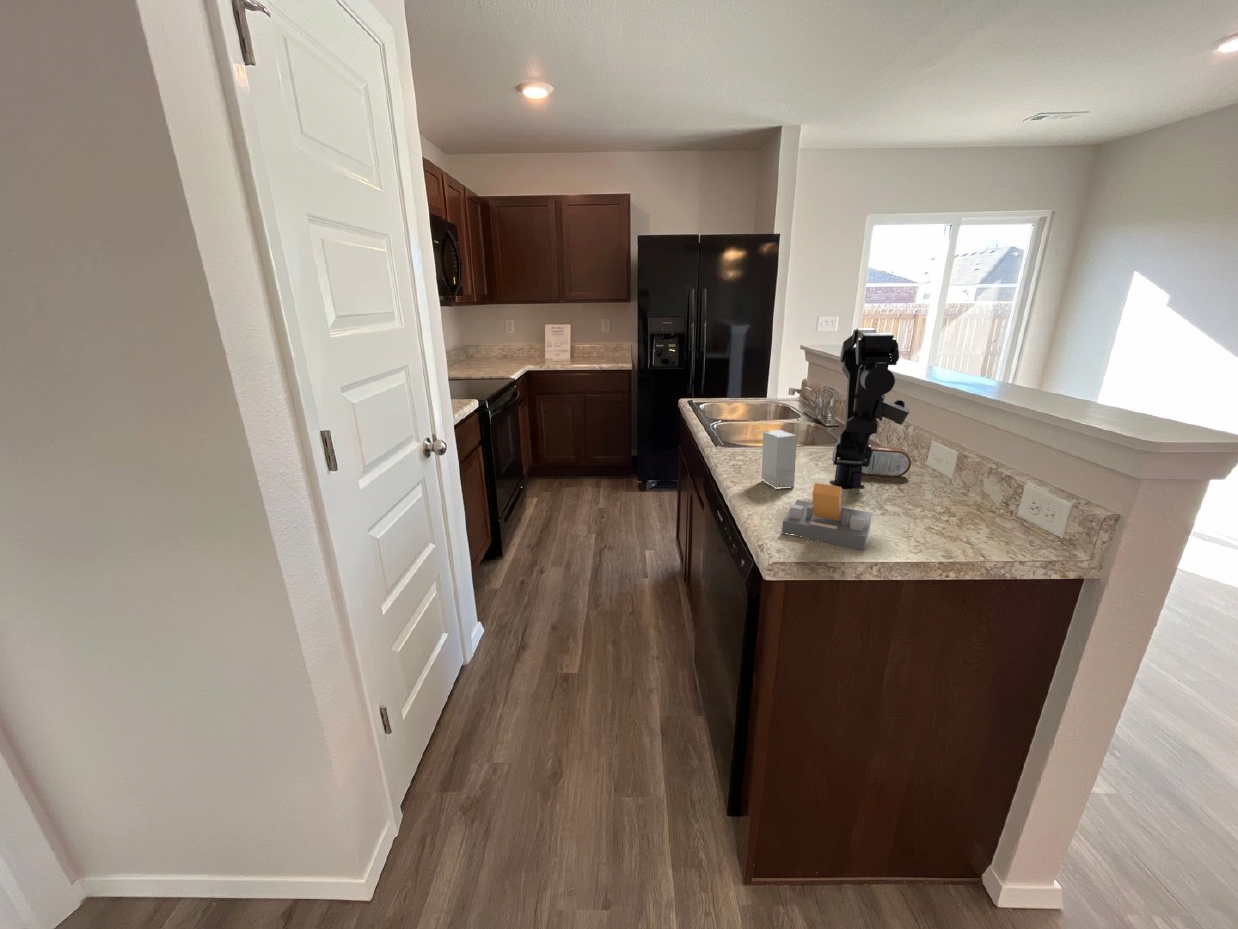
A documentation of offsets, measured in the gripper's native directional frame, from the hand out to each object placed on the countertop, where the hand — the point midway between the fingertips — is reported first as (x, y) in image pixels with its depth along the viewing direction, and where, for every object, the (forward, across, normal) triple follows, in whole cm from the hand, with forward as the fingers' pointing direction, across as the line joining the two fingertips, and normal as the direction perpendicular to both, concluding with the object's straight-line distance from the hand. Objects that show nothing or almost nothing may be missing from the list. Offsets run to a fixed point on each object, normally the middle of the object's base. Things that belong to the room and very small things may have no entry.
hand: (860, 454), depth 115 cm
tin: (+13, +29, -3) cm, 32 cm away
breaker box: (+13, -18, +3) cm, 23 cm away
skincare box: (+13, +6, +20) cm, 25 cm away
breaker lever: (+9, -20, +3) cm, 22 cm away
